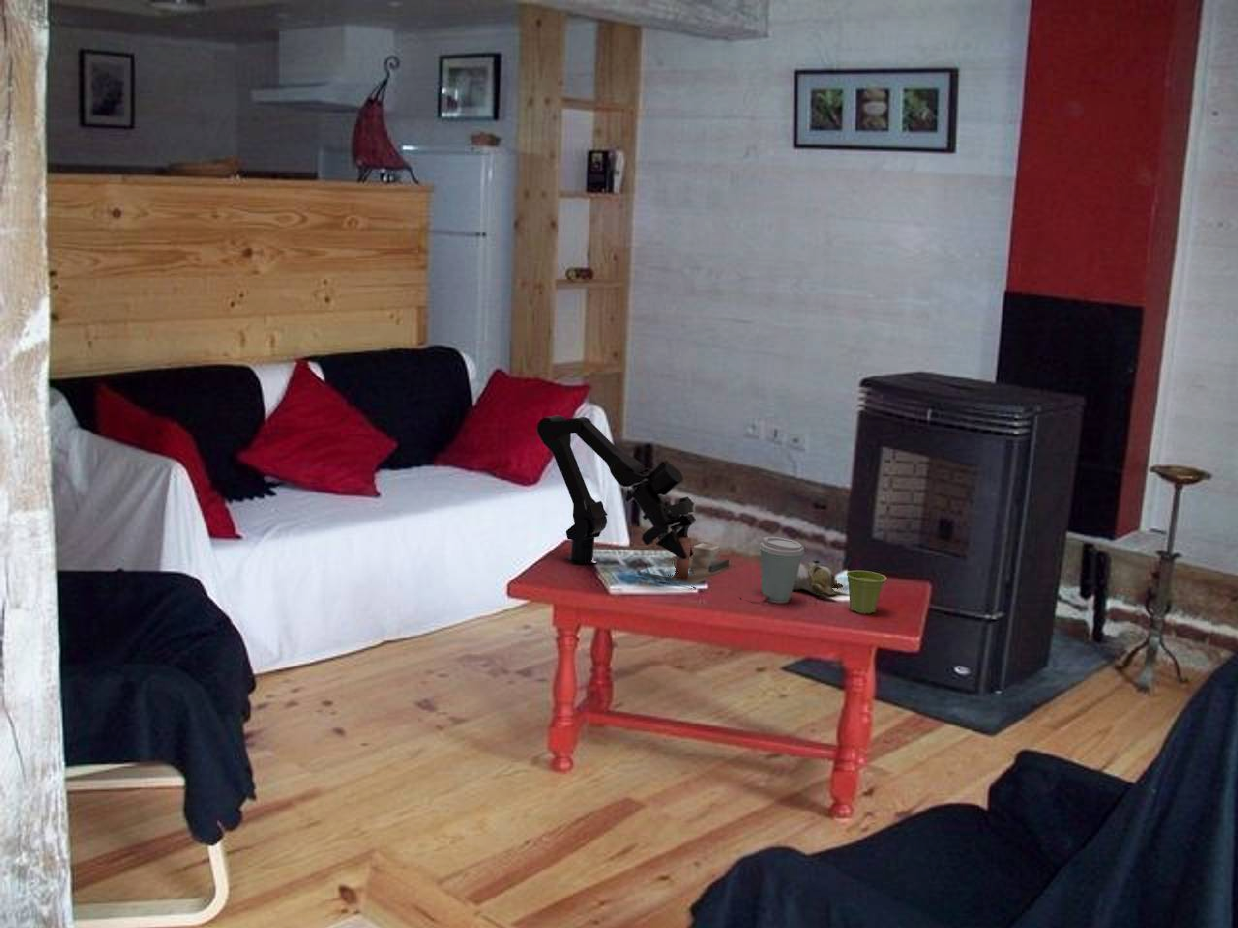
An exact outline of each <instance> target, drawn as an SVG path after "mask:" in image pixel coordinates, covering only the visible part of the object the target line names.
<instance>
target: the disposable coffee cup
mask: <svg viewBox="0 0 1238 928" xmlns="http://www.w3.org/2000/svg"><path fill="white" fill-rule="evenodd" d="M759 548H760V567H761V569H760V570H761V593H762V595H764V596H767V598H764V601H766V602H769V603H773V604H782V605H783V604H787V603H789V602H790V600H791V598H792V595H793V590H794V589H793V587H794V584H795V580H796V576H797V573H798V569H799V565H800V563H801V561H802V558H803V554H804V553H805V548H804V547H803V545H802V544H801V543H800V542H797V541H796V540H792V539H789V538H784V537H777V536H765V537H763V538H762V541H761V542H760V544H759Z"/></svg>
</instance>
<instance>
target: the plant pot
mask: <svg viewBox="0 0 1238 928" xmlns="http://www.w3.org/2000/svg"><path fill="white" fill-rule="evenodd" d="M846 576H847V581H848V586H849V589H848V590H849V609H850V610H851V611H854V612H856V613H860V614H866V613H868V614H871V613H873V612H874V613H875V612H876V610H877V606H878V602H879V598H880V595H881V592H882V588H883V586H884V584H885V581H886V580H887V577H886V576H885V575H884V574H881V573H878V572H873V571H867V570H851V571H847V572H846Z"/></svg>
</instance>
